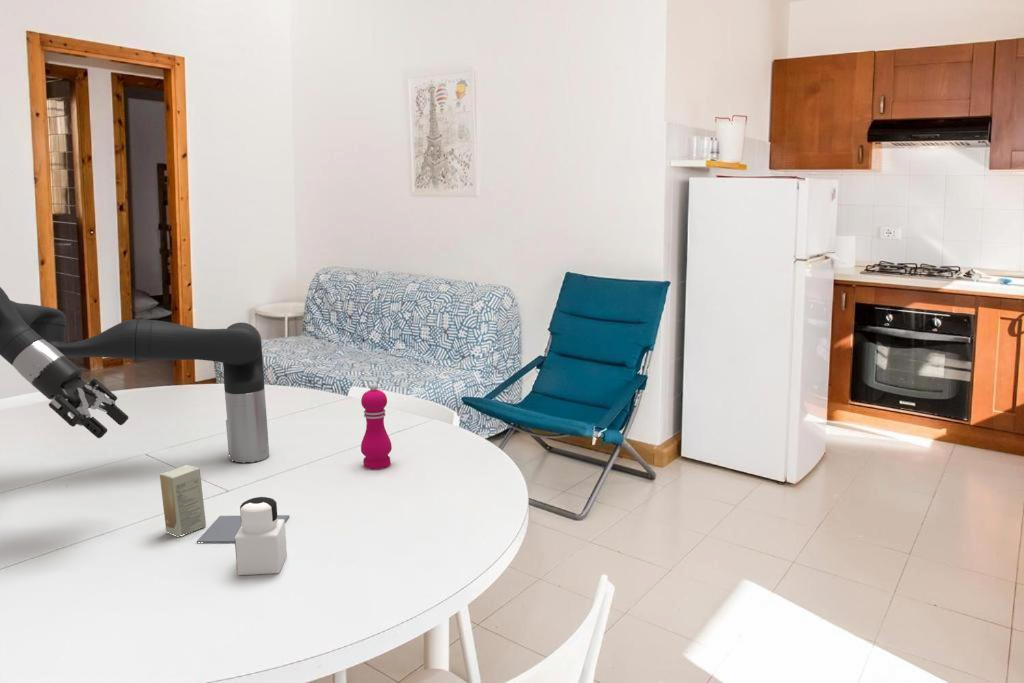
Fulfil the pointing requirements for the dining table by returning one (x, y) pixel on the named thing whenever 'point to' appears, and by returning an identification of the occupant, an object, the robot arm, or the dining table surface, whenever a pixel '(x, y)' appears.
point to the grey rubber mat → (226, 529)
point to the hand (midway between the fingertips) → (114, 428)
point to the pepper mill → (375, 430)
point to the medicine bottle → (260, 538)
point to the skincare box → (182, 500)
